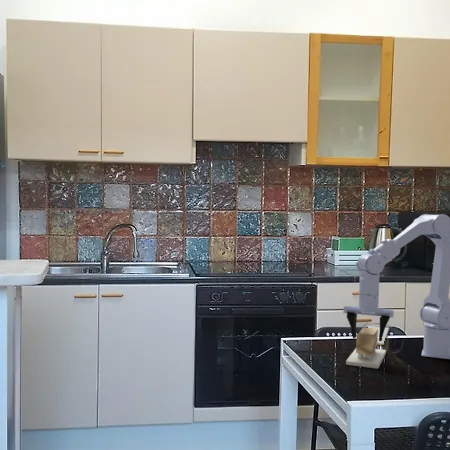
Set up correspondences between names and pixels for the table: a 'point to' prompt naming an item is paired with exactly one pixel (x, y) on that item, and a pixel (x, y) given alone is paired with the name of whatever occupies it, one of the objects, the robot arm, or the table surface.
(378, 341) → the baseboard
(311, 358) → the table surface
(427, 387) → the table surface
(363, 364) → the peg rack
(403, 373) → the table surface
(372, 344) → the tan block
